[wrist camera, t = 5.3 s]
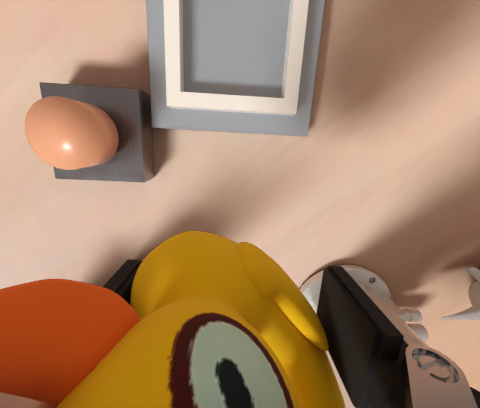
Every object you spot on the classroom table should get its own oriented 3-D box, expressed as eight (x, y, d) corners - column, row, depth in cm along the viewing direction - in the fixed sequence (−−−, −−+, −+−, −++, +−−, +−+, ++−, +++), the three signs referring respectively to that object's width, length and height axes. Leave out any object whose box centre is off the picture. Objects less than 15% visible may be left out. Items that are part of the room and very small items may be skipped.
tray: (334, -121, 18) (353, -170, 16) (303, 136, 24) (313, 135, 21) (145, -144, 18) (128, -200, 15) (157, 128, 23) (146, 126, 20)
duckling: (106, 236, 12) (-519, 688, 2) (174, 158, 11) (-369, 296, 1) (262, 355, 14) (328, 844, 4) (329, 299, 13) (612, 758, 3)
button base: (150, 95, 22) (138, 88, 19) (154, 177, 24) (144, 182, 21) (64, 89, 22) (39, 82, 19) (76, 173, 24) (55, 178, 21)
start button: (115, 104, 19) (94, 98, 16) (121, 166, 20) (102, 171, 17) (51, 101, 18) (18, 93, 15) (61, 163, 20) (32, 168, 17)
